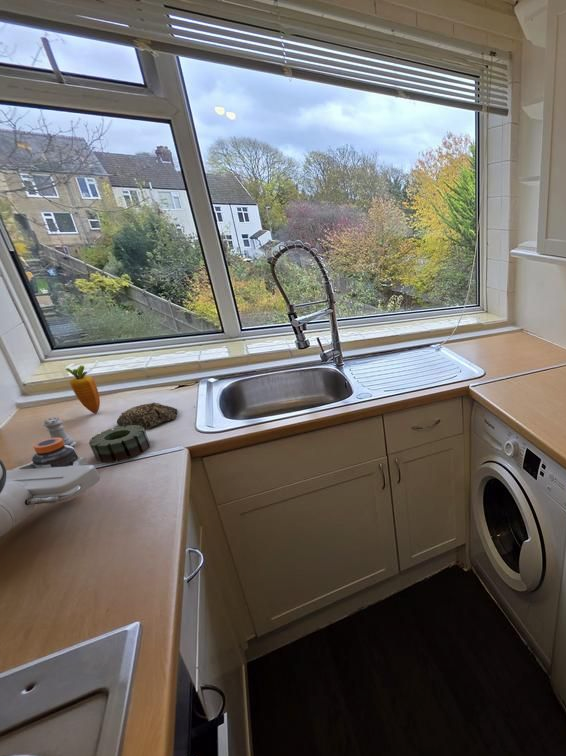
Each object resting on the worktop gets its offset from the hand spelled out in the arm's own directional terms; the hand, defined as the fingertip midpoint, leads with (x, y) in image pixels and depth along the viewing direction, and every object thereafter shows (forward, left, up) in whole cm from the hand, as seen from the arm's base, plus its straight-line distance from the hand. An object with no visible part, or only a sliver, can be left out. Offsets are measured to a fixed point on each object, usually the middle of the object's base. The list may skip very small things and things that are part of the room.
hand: (61, 461), depth 84 cm
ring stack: (+7, +15, -8) cm, 18 cm away
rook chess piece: (-5, +26, -8) cm, 28 cm away
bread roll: (+12, +32, -8) cm, 35 cm away
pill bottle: (0, -1, -6) cm, 6 cm away
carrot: (-1, +46, -8) cm, 47 cm away
